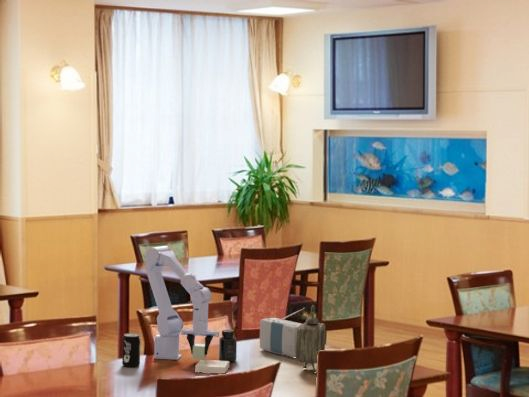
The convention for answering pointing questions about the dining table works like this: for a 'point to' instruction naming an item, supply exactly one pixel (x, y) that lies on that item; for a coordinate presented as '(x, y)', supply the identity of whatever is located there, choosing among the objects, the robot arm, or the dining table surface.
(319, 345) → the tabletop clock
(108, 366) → the dining table surface
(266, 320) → the stereo radio cassette player
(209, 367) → the ceramic base
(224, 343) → the supplement bottle
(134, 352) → the beverage can
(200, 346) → the sage block
